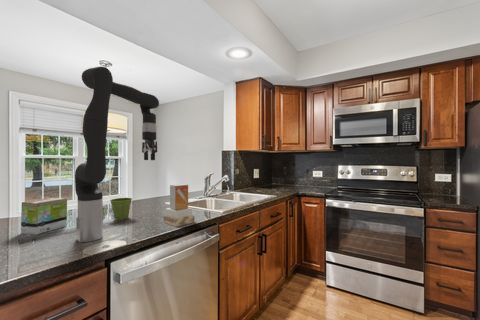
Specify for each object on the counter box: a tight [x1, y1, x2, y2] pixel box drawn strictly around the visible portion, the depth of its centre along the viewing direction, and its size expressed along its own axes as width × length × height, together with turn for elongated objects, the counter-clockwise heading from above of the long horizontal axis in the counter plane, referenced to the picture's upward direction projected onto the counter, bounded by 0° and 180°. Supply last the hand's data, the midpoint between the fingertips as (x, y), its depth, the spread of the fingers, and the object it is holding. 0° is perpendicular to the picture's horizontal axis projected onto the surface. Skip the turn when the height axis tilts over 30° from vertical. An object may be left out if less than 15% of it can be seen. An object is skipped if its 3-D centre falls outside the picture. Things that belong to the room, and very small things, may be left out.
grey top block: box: [165, 207, 193, 219], centre depth 131 cm, size 10×10×4 cm
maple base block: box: [163, 214, 195, 227], centre depth 131 cm, size 12×12×4 cm
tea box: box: [20, 197, 68, 235], centre depth 117 cm, size 15×10×15 cm
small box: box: [169, 183, 189, 210], centre depth 131 cm, size 8×6×13 cm
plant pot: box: [109, 197, 133, 221], centre depth 138 cm, size 12×12×11 cm
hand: (149, 160), depth 135 cm, fingers open, 8 cm apart
